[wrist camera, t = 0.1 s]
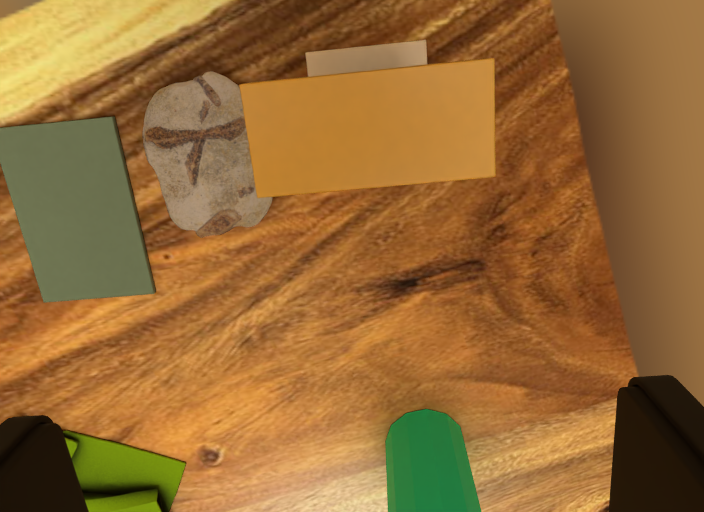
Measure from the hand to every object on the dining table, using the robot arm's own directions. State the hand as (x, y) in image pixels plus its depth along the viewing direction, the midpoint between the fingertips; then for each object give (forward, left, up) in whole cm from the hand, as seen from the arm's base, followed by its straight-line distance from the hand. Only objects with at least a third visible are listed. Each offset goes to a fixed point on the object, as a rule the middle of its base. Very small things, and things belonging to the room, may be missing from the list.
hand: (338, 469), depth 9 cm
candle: (+21, +3, -27) cm, 34 cm away
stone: (-2, -9, -27) cm, 29 cm away
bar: (-4, +1, -17) cm, 17 cm away
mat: (+1, -19, -27) cm, 33 cm away
